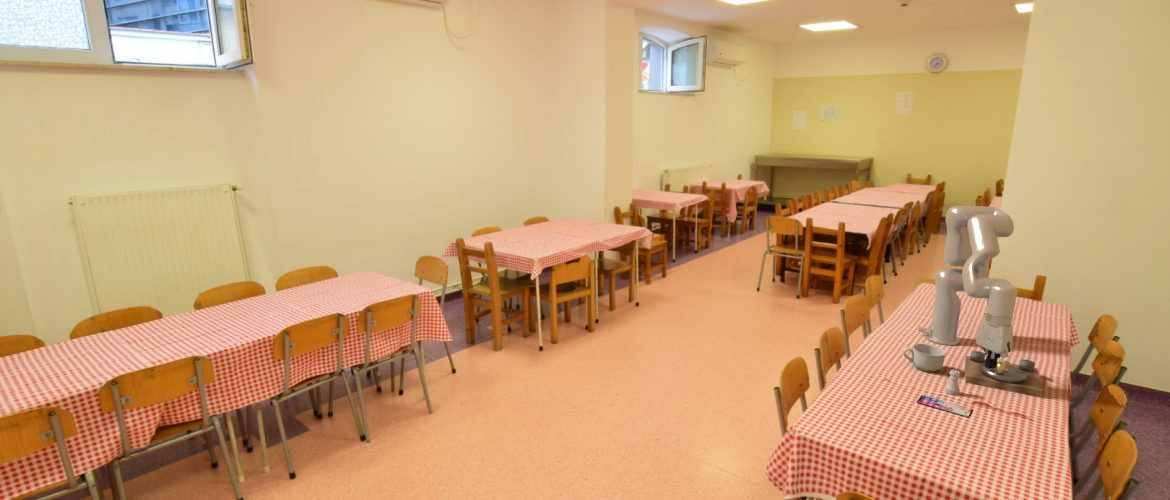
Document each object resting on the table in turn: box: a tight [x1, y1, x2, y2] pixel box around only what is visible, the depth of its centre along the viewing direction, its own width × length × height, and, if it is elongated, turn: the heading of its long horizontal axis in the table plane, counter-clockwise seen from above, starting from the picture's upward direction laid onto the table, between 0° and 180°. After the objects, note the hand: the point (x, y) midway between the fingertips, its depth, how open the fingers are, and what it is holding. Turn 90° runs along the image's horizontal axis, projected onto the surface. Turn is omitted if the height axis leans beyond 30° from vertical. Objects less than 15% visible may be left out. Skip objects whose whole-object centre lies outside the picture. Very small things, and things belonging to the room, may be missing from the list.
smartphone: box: [916, 395, 974, 418], centre depth 187 cm, size 8×1×15 cm
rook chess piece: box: [944, 369, 961, 396], centre depth 196 cm, size 4×4×8 cm
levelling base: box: [964, 350, 1045, 399], centre depth 207 cm, size 22×22×6 cm
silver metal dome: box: [981, 362, 1027, 384], centre depth 203 cm, size 13×13×6 cm
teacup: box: [902, 343, 946, 373], centre depth 216 cm, size 14×11×8 cm
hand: (990, 367), depth 203 cm, fingers closed
